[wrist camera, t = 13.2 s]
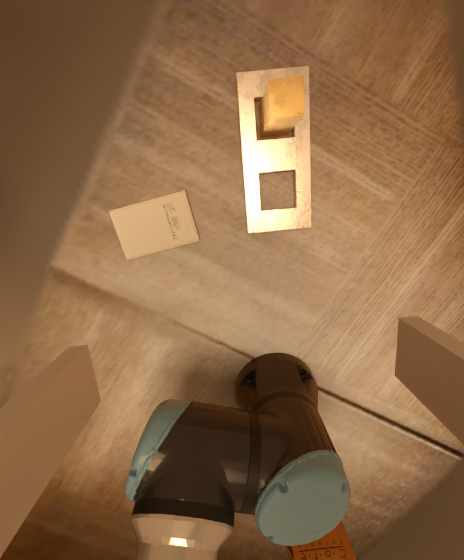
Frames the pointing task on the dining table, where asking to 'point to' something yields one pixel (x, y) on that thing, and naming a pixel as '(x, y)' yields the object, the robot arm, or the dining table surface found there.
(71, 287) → the dining table surface
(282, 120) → the brass peg
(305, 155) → the rail plate
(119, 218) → the external hard drive
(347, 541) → the coffee package
